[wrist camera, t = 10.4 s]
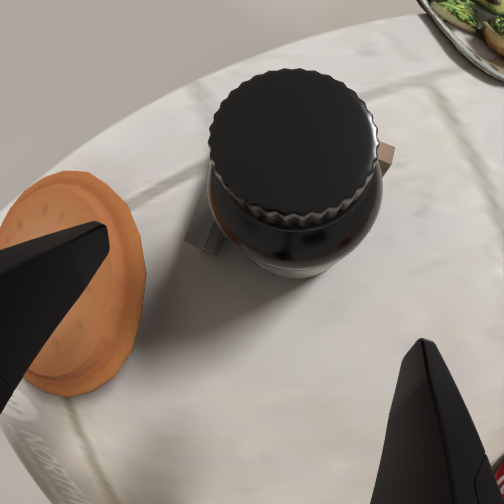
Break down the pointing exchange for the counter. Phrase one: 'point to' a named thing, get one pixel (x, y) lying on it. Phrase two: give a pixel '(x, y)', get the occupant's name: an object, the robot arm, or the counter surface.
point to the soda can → (500, 478)
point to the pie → (98, 290)
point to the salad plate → (473, 28)
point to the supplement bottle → (294, 171)
